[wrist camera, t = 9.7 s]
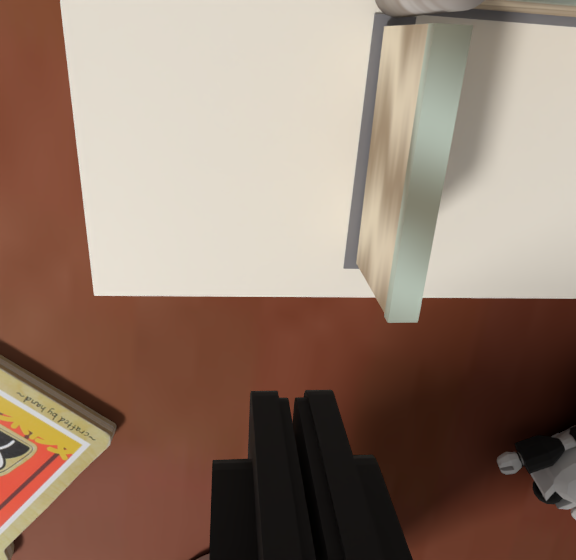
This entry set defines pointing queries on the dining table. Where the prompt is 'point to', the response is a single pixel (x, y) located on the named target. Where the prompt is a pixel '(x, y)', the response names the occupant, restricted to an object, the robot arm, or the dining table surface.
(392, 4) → the fence base
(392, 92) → the fence panel
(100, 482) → the dining table surface
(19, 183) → the dining table surface
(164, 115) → the card
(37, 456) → the knob puzzle
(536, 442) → the robot toy
